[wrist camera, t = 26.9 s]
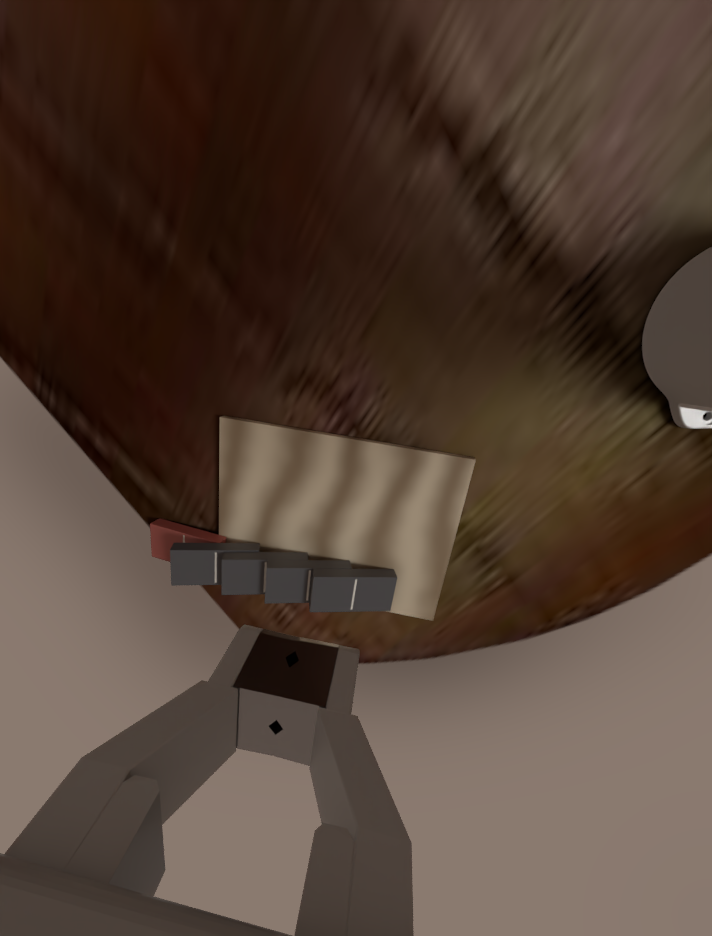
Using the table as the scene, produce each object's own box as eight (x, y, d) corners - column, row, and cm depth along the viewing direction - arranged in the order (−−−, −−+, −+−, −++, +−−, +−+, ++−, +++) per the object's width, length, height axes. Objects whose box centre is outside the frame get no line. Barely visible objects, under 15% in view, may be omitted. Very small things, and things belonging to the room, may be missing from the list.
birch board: (473, 457, 38) (475, 459, 37) (432, 615, 45) (432, 620, 44) (223, 415, 40) (219, 417, 39) (222, 572, 47) (218, 577, 46)
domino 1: (259, 550, 42) (169, 550, 40) (257, 583, 44) (171, 585, 41) (259, 543, 43) (173, 542, 41) (258, 575, 45) (175, 576, 43)
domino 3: (351, 568, 41) (266, 568, 39) (346, 601, 43) (264, 603, 41) (349, 560, 43) (267, 559, 41) (345, 593, 44) (265, 594, 42)
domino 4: (397, 577, 41) (313, 577, 39) (390, 610, 42) (309, 612, 40) (393, 569, 42) (313, 568, 40) (387, 601, 44) (309, 602, 42)
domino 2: (308, 560, 42) (221, 559, 40) (305, 593, 43) (221, 594, 41) (307, 552, 43) (224, 551, 41) (304, 585, 45) (224, 586, 43)
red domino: (218, 543, 42) (150, 523, 44) (218, 576, 44) (151, 556, 46) (226, 536, 44) (159, 518, 46) (225, 569, 45) (161, 550, 47)
